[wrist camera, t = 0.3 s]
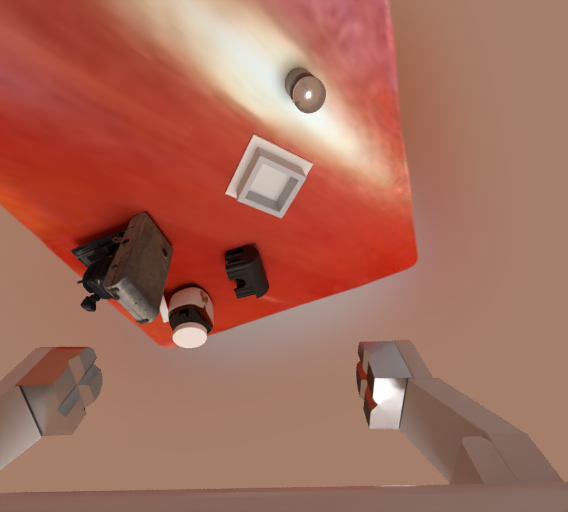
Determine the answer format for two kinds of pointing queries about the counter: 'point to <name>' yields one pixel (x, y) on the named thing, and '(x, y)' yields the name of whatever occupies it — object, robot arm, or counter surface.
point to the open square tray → (268, 176)
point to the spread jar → (189, 316)
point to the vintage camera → (128, 268)
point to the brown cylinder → (305, 90)
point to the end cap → (246, 271)
